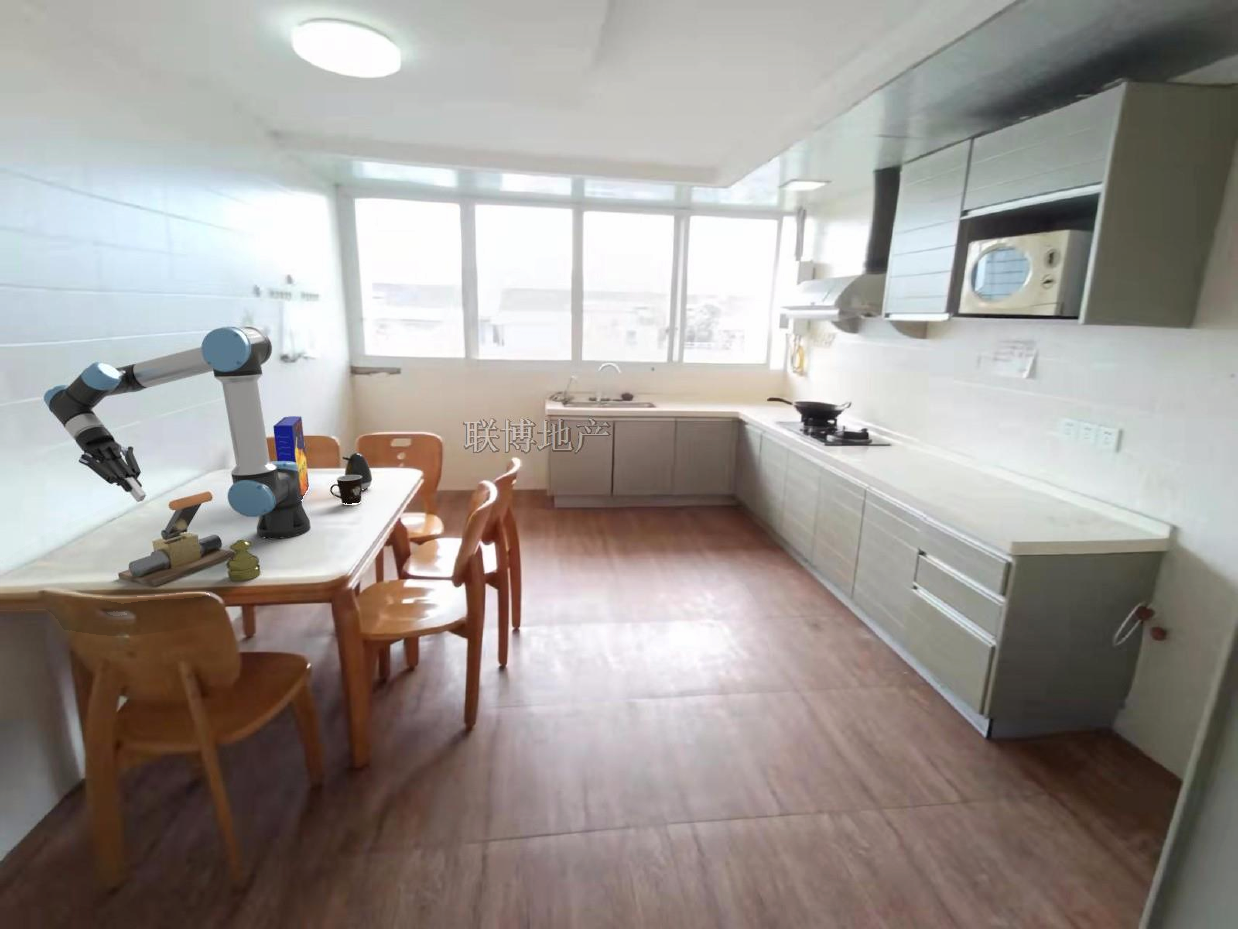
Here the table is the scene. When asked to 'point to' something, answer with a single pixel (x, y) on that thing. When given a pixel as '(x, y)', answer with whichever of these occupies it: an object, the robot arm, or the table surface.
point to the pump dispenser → (359, 468)
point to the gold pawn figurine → (242, 562)
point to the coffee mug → (349, 488)
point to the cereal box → (292, 446)
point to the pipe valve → (176, 559)
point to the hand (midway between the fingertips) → (141, 498)
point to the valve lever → (183, 514)
